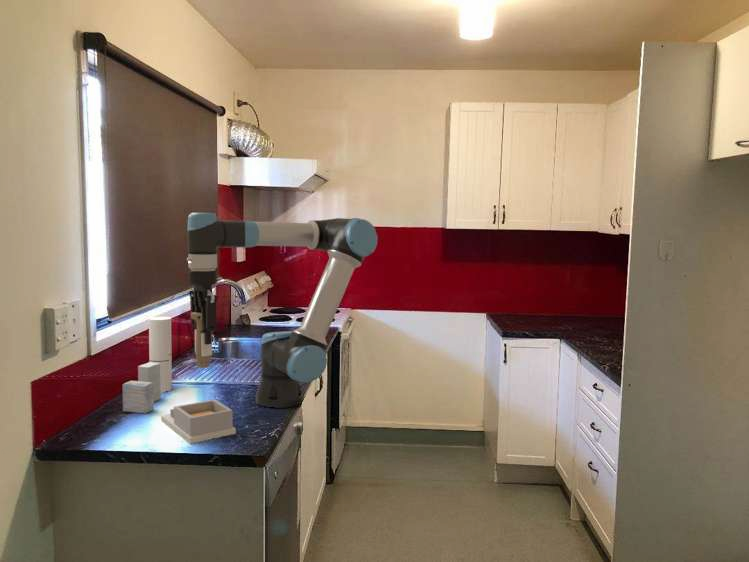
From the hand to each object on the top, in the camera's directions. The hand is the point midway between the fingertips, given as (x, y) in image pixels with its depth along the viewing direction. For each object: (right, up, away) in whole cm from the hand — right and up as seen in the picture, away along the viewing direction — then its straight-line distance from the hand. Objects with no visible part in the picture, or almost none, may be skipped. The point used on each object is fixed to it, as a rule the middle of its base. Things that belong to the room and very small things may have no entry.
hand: (203, 353), depth 162 cm
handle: (0, -4, 0) cm, 4 cm away
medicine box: (-25, -20, +18) cm, 37 cm away
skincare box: (-26, -19, +28) cm, 42 cm away
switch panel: (-3, -21, +5) cm, 22 cm away
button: (-1, -20, +2) cm, 20 cm away
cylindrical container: (-26, -18, +40) cm, 51 cm away
